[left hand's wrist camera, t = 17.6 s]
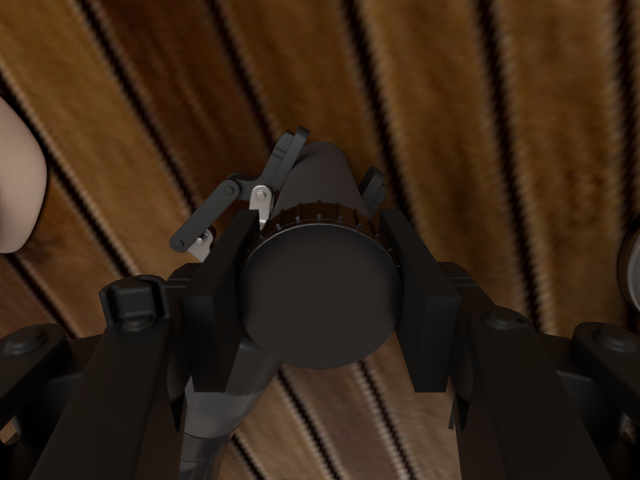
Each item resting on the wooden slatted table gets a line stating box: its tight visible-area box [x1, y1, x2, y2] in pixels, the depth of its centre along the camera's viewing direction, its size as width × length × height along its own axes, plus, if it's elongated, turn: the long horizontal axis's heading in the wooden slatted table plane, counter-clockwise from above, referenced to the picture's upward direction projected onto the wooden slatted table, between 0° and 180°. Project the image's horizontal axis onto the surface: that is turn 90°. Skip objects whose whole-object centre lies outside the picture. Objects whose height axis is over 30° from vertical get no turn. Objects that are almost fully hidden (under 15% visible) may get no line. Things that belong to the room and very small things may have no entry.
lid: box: [236, 200, 404, 369], centre depth 11 cm, size 5×5×2 cm
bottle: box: [270, 141, 370, 220], centre depth 19 cm, size 4×4×19 cm
